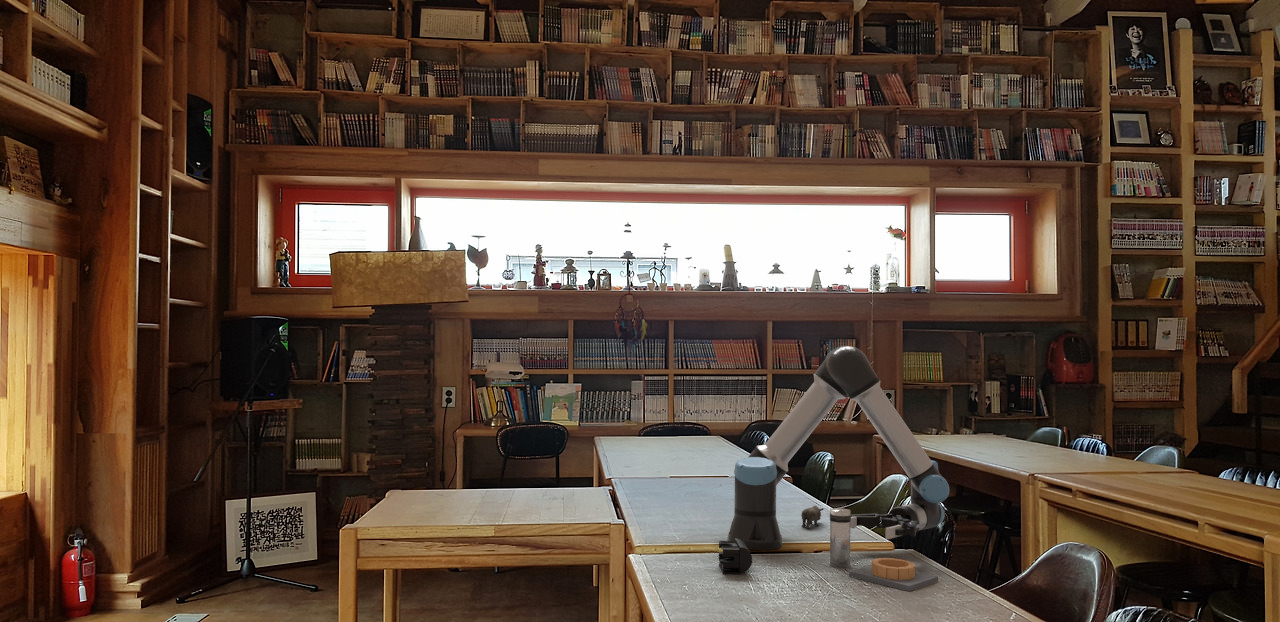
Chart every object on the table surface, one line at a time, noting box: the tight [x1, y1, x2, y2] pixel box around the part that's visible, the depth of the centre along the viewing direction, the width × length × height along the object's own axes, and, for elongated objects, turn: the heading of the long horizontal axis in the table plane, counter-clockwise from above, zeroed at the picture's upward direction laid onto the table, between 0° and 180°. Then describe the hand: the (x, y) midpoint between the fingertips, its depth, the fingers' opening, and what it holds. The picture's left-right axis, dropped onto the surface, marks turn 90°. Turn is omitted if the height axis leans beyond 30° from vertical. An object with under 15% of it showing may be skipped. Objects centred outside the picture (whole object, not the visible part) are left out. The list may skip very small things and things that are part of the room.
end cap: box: [718, 538, 753, 576], centre depth 199 cm, size 10×7×7 cm
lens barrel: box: [829, 507, 852, 569], centre depth 205 cm, size 5×5×14 cm
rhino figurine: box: [800, 505, 824, 529], centre depth 255 cm, size 4×14×6 cm, turn 146°
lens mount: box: [848, 557, 939, 592], centre depth 193 cm, size 16×13×4 cm
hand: (863, 529), depth 212 cm, fingers open, 13 cm apart
